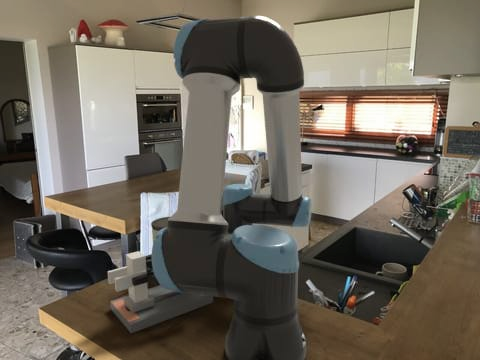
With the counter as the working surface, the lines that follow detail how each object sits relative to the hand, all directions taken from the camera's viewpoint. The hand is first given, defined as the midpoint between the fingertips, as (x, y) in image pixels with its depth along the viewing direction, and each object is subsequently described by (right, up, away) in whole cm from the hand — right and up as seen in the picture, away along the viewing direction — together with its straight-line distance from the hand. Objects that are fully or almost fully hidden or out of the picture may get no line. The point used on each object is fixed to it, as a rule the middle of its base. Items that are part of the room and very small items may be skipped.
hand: (112, 281), depth 82 cm
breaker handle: (+4, -6, +5) cm, 9 cm away
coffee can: (+8, -4, +27) cm, 29 cm away
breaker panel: (+9, -8, +8) cm, 15 cm away
